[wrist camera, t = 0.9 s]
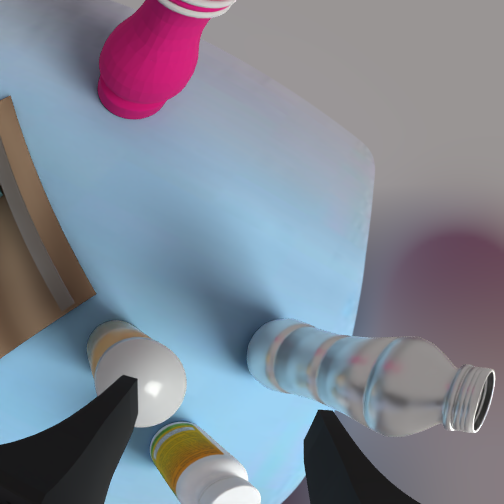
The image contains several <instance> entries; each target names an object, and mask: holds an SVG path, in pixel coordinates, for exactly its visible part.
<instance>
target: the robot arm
mask: <svg viewBox="0 0 504 504" xmlns="http://www.w3.org/2000/svg"><path fill="white" fill-rule="evenodd" d="M137 416H138V379H137V378H133V377H130V376H126V375H122V376H120V377H119V378H118V379H117V380H116V381H115V382H114V383H113V384H112V385H110V386H109V387H108V388H107V389H106V390H105V391H104V392H102V393H101V394H100V395H99V396H97V397H96V398H95V399H94V400H92V401H91V402H90V403H89V404H87V405H86V406H85V407H83V408H82V409H80V410H79V411H77V412H76V413H75V414H73V415H72V416H70V417H68V418H67V419H65V420H64V421H62V422H60V423H58V424H56V425H55V426H53V427H51V428H48V429H46V430H44V431H42V432H40V433H38V434H35V435H33V436H30V437H27V438H24V439H21V440H18V441H15V442H11V443H7V444H2V445H0V504H104V502H105V498H106V495H107V491H108V488H109V485H110V482H111V479H112V476H113V474H114V472H115V469H116V467H117V465H118V463H119V461H120V458H121V456H122V454H123V452H124V450H125V448H126V445H127V443H128V441H129V439H130V437H131V434H132V432H133V429H134V426H135V422H136V419H137ZM304 465H305V472H306V478H307V485H308V491H309V497H310V503H311V504H420V503H419V502H417V501H415V500H414V499H412V498H411V497H409V496H408V495H406V494H405V493H403V492H402V491H401V490H400V489H398V488H397V487H396V486H395V485H393V484H392V483H391V482H390V481H389V480H388V479H386V477H385V476H383V475H382V474H381V473H380V472H379V471H378V470H377V469H376V468H375V467H374V466H373V464H372V463H371V462H370V461H369V460H368V459H367V457H365V455H364V454H363V453H362V452H361V450H360V449H359V447H358V446H357V445H356V444H355V442H354V441H353V439H352V438H351V437H350V435H349V434H348V432H347V431H346V430H345V428H344V427H343V425H342V424H341V422H340V421H339V419H338V418H337V416H336V415H335V413H334V412H333V411H331V410H318V412H317V414H316V416H315V418H314V420H313V422H312V425H311V427H310V429H309V431H308V433H307V435H306V437H305V439H304Z"/></svg>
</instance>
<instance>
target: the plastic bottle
mask: <svg viewBox="0 0 504 504" xmlns="http://www.w3.org/2000/svg"><path fill="white" fill-rule="evenodd" d="M247 365H248V369H249V371H250V373H251V375H252V376H253V377H254V378H255V379H256V380H257V381H258V382H259V383H261V384H262V385H263V386H264V387H266V388H268V389H270V390H273V391H277V392H281V393H289V394H294V395H298V396H301V397H305V398H308V399H312V400H315V401H318V402H320V403H322V404H324V405H327V406H329V407H331V408H333V409H335V410H337V411H340V412H342V413H344V414H345V415H347V416H349V417H351V418H352V419H354V420H356V421H358V422H359V423H361V424H363V425H365V426H366V427H368V428H370V429H372V430H373V431H375V432H378V433H380V434H382V435H384V436H388V437H403V436H408V435H411V434H414V433H418V432H421V431H423V430H426V429H428V428H430V427H432V426H435V425H437V424H443V426H444V428H445V429H446V430H450V431H455V430H459V431H465V432H469V433H472V432H474V433H475V432H477V431H478V430H479V428H480V427H481V425H482V424H483V421H484V419H485V417H486V415H487V412H488V409H489V407H490V403H491V400H492V396H493V391H494V385H495V372H494V370H493V369H490V368H480V367H474V366H473V365H469V364H464V365H463V366H461V368H460V369H459V368H456V367H455V366H454V365H453V363H452V362H451V361H450V360H449V359H448V357H447V356H446V355H445V354H444V353H443V352H442V351H441V350H440V349H439V348H438V347H436V346H435V345H434V344H433V343H431V342H429V341H427V340H424V339H422V338H420V337H385V338H367V337H357V336H346V335H338V334H335V333H331V332H328V331H324V330H321V329H317V328H315V327H314V326H312V325H310V324H307V323H304V322H302V321H299V320H296V319H278V320H272V321H270V322H267V323H266V324H264V325H263V326H261V327H260V328H259V329H258V330H257V331H256V333H255V334H254V335H253V337H252V338H251V340H250V342H249V345H248V349H247Z"/></svg>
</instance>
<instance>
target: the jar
mask: <svg viewBox="0 0 504 504" xmlns="http://www.w3.org/2000/svg"><path fill="white" fill-rule="evenodd" d="M87 358H88V361H89V365H90V368H91V371H92V374H93V378H94V384H95V389H96V393H97V396H99V395H100V394H101V393H102V392H104V391H105V390H106V389H107V388H108V387H109V386H110V385H112V384H113V383H114V382H115V381H116V380H117V379H118V378H119V377H120V376H122V375H126V376H130V377H133V378H137V379H138V416H137V419H136V422H135V426H134V427H150V426H154V425H157V424H160V423H162V422H164V421H165V420H167V419H168V418H170V417H171V416H172V415H173V414H174V413H175V412H176V411H177V410H178V408H179V407H180V405H181V403H182V401H183V399H184V396H185V392H186V374H185V370H184V368H183V365H182V363H181V362H180V360H179V358H178V357H177V356H176V355H175V354H174V353H173V352H172V351H171V350H170V349H168V348H167V347H166V346H164V345H163V344H161V343H159V342H158V341H155V340H153V339H151V338H150V337H149V336H147V335H146V334H144V333H143V332H142V331H140V330H139V329H138V328H136V327H135V326H134V325H132V324H130V323H128V322H125V321H120V320H112V321H108V322H105V323H103V324H101V325H99V326H98V327H97V328H96V329H95V330H94V331H93V332H92V333H91V335H90V337H89V340H88V343H87Z"/></svg>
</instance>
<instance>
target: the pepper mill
mask: <svg viewBox="0 0 504 504" xmlns="http://www.w3.org/2000/svg"><path fill="white" fill-rule="evenodd" d="M235 1H236V0H145V2H144V3H143V5H142V6H141V7H140V8H139V9H138V10H137V11H136V12H135V13H134V14H133V15H132V16H130V17H129V18H127V19H126V20H125V21H123V22H122V23H120V24H119V25H118V26H117V27H116V28H115V29H114V31H113V32H112V33H111V34H110V35H109V37H108V39H107V40H106V42H105V44H104V46H103V49H102V51H101V54H100V59H99V69H100V73H101V75H100V78H99V81H98V95H99V98H100V100H101V102H102V104H103V105H104V106H105V107H106V108H107V109H108V110H109V111H110V112H112V113H113V114H115V115H117V116H119V117H122V118H126V119H142V118H146V117H149V116H151V115H153V114H155V113H156V112H157V111H159V110H160V109H161V108H162V106H163V105H164V104H165V102H166V101H167V100H168V99H170V98H172V97H174V96H175V95H177V94H178V93H179V92H180V91H181V90H182V89H183V88H184V87H185V86H186V84H187V83H188V81H189V79H190V78H191V76H192V75H193V73H194V70H195V67H196V64H197V60H198V51H199V42H200V37H201V34H202V31H203V29H204V27H205V26H206V24H207V22H208V21H209V20H210V19H211V18H213V17H217V16H219V15H222V14H223V13H225V12H226V11H227V10H228V9H229V8H230V7H231V4H233V3H234V2H235Z"/></svg>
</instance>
